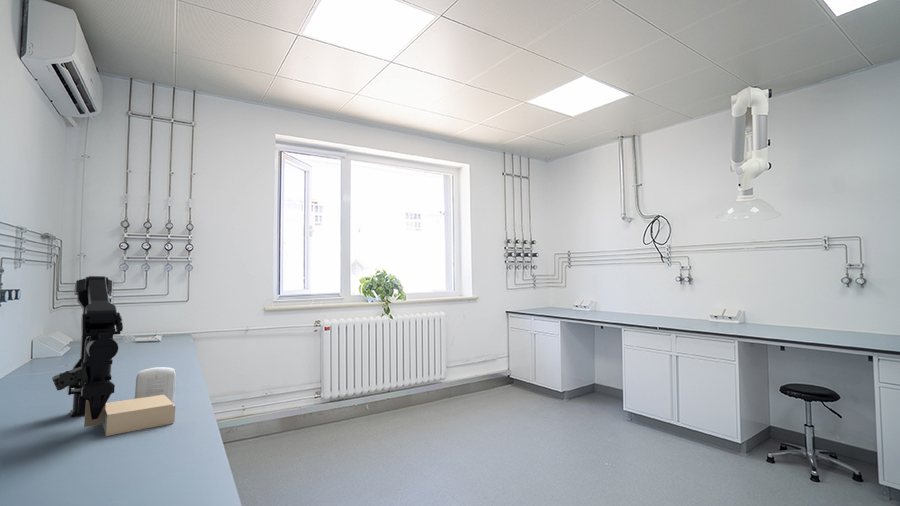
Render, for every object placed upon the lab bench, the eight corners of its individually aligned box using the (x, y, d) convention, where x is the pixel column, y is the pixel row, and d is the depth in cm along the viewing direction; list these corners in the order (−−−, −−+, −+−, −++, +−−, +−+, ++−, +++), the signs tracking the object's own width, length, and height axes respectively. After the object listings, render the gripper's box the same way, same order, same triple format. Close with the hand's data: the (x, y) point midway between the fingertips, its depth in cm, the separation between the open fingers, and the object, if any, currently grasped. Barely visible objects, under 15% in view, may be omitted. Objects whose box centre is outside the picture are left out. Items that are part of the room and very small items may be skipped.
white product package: (174, 403, 134) (176, 364, 135) (174, 407, 130) (176, 366, 131) (134, 408, 128) (136, 368, 129) (133, 412, 125) (135, 370, 126)
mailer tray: (83, 424, 112) (84, 396, 112) (163, 410, 124) (164, 385, 125) (85, 435, 103) (87, 405, 104) (171, 420, 115) (172, 393, 116)
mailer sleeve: (101, 422, 115) (103, 403, 116) (164, 411, 125) (165, 394, 126) (106, 435, 105) (107, 414, 106) (174, 423, 115) (175, 403, 116)
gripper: (56, 355, 112) (51, 415, 110) (56, 365, 98) (50, 433, 97) (109, 351, 119) (106, 407, 118) (116, 359, 106) (112, 423, 104)
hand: (93, 417), depth 109 cm, fingers open, 5 cm apart
